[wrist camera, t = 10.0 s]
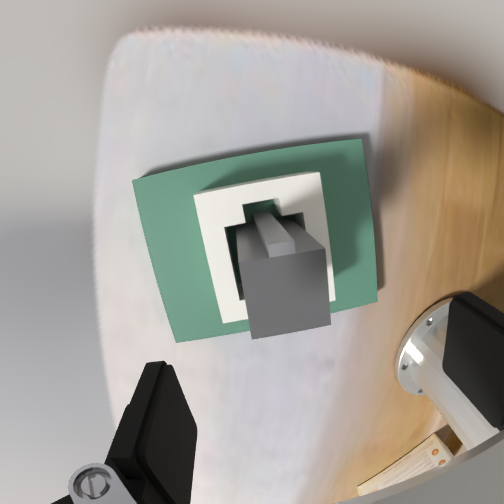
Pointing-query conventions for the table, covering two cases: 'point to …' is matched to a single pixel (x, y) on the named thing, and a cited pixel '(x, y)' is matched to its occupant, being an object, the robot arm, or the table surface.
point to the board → (238, 171)
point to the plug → (282, 276)
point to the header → (231, 213)
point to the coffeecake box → (410, 465)
